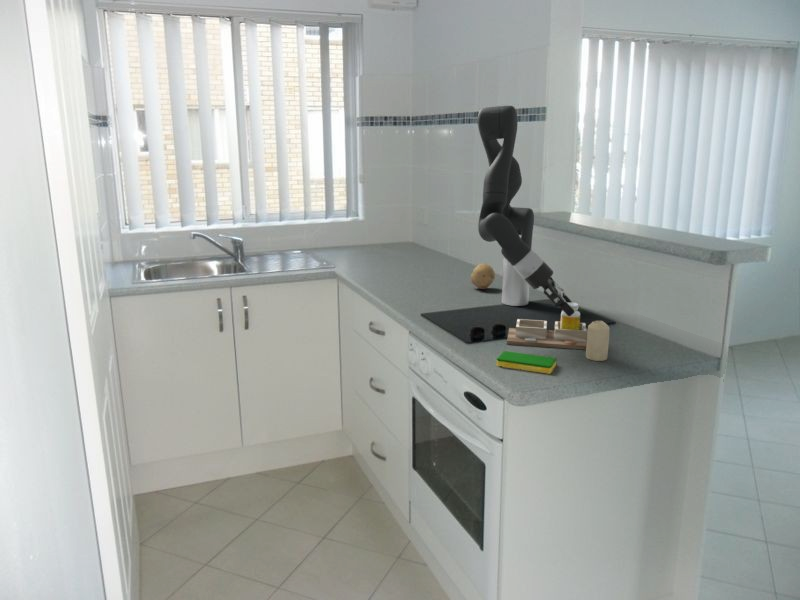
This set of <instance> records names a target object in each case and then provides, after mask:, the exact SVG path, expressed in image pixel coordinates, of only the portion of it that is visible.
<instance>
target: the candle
mask: <svg viewBox="0 0 800 600" xmlns="http://www.w3.org/2000/svg"><path fill="white" fill-rule="evenodd" d="M609 342H610V326H609V325H608V324H607V323H606V322H604V321H603V320H594V321H592V322H590V324H588V326H587V346H586V350H585V358H586V359H588V360H590V361H596V362H603V361H604V362H605V361H606V360H607V359H608V354H609V344H610V343H609Z"/></svg>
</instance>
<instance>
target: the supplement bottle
mask: <svg viewBox="0 0 800 600" xmlns="http://www.w3.org/2000/svg"><path fill="white" fill-rule="evenodd" d="M567 303H568V304H569V305H570V306H571V308H572V309H573V310H574V313H573V314H572V315H571V316H568V315H567V314H566V313H565V312H564V311H563V310H561V313H560V329H569V330H579V325H580V323H581V312H580V311H579V304H578V302H573V301H572V302H567Z"/></svg>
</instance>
